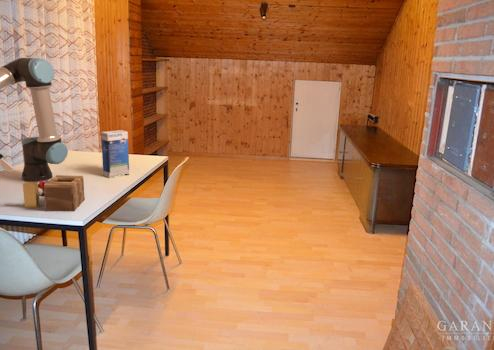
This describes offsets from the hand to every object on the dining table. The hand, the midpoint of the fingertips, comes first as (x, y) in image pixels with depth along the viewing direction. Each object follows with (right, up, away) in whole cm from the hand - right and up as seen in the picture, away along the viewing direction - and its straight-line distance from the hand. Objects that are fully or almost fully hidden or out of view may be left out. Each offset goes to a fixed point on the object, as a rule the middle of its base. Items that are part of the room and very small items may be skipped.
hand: (4, 174), depth 185 cm
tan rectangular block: (+10, -14, +5) cm, 18 cm away
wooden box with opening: (+24, -14, +8) cm, 29 cm away
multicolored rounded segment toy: (+7, -10, +23) cm, 26 cm away
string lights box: (+30, -1, +62) cm, 69 cm away
